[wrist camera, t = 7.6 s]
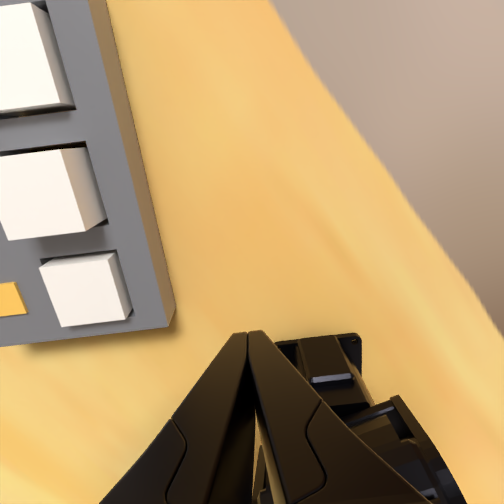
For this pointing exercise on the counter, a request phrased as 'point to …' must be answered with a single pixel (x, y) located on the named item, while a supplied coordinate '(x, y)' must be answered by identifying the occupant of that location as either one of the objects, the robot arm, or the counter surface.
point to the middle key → (49, 193)
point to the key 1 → (31, 64)
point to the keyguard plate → (109, 181)
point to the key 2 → (87, 288)
